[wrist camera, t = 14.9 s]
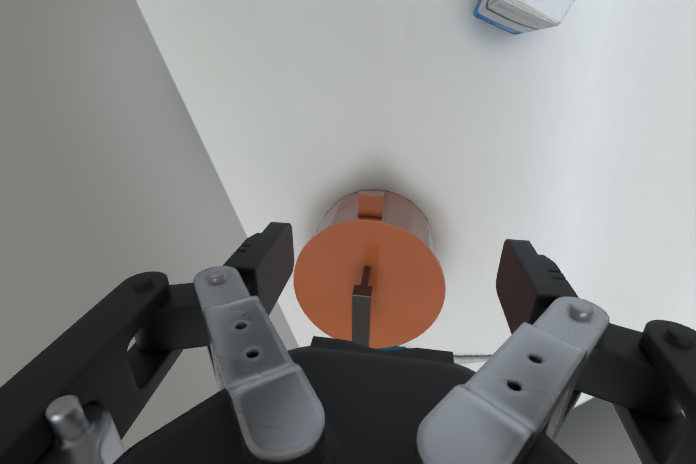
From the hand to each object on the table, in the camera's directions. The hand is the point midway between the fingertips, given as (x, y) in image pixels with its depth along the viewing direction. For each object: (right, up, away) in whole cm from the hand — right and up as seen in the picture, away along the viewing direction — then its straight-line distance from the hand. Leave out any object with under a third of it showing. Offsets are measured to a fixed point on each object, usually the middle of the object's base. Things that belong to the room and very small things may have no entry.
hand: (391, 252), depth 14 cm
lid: (0, -5, +25) cm, 25 cm away
